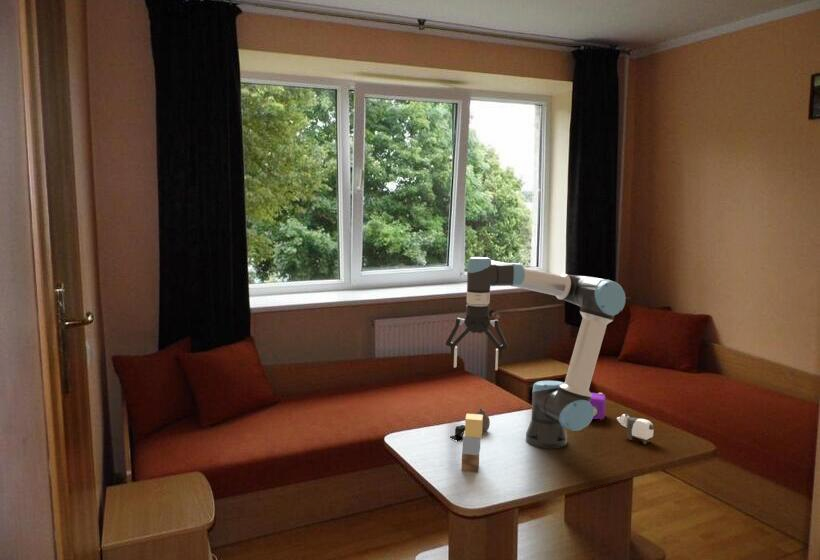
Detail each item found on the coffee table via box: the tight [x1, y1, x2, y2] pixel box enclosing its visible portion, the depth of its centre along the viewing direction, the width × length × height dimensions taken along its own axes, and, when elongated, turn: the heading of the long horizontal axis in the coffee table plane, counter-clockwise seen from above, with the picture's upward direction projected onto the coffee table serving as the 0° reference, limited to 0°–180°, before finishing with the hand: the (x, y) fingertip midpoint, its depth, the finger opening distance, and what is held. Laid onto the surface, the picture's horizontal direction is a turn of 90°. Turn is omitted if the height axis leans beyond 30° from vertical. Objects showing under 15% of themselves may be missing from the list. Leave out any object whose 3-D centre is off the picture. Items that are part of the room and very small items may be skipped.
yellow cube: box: [464, 413, 483, 439], centre depth 206 cm, size 6×6×6 cm
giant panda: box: [616, 412, 655, 442], centre depth 237 cm, size 15×6×10 cm, turn 43°
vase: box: [475, 408, 491, 434], centre depth 242 cm, size 7×7×9 cm
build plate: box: [449, 424, 465, 442], centre depth 236 cm, size 12×7×5 cm, turn 125°
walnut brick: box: [461, 453, 480, 473], centre depth 208 cm, size 6×6×6 cm
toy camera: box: [590, 392, 607, 420], centre depth 260 cm, size 11×14×10 cm
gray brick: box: [461, 431, 481, 456], centre depth 207 cm, size 6×6×6 cm
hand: (475, 367), depth 204 cm, fingers open, 13 cm apart
